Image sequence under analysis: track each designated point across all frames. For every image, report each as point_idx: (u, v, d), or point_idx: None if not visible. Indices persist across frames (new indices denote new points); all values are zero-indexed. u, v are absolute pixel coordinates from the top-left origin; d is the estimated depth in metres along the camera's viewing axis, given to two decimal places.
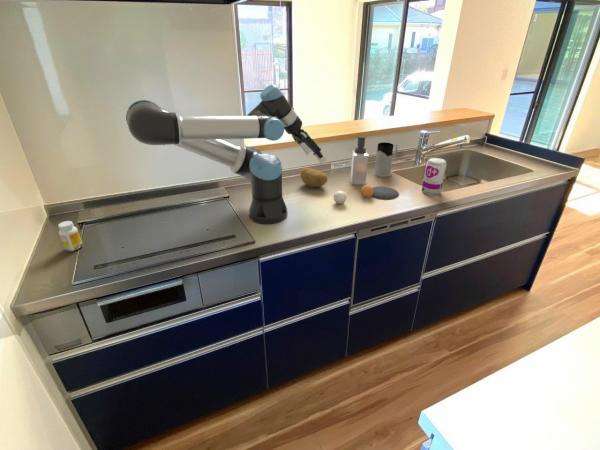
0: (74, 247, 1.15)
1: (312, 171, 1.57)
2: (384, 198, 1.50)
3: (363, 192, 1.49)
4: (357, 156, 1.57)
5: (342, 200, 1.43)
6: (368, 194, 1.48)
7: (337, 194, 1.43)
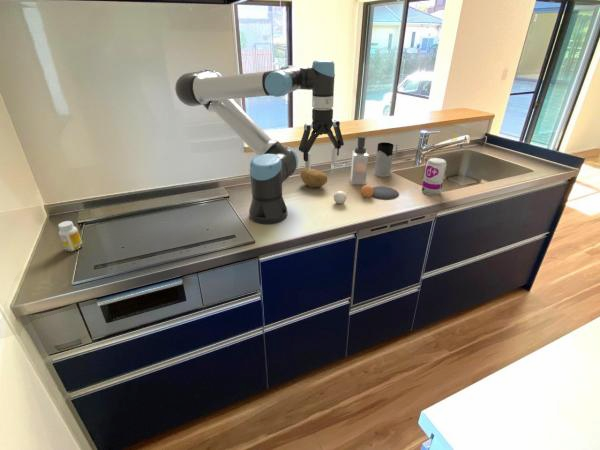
0: (74, 247, 1.15)
1: (312, 171, 1.57)
2: (384, 198, 1.50)
3: (363, 192, 1.49)
4: (357, 156, 1.57)
5: (342, 200, 1.43)
6: (368, 194, 1.48)
7: (337, 194, 1.43)
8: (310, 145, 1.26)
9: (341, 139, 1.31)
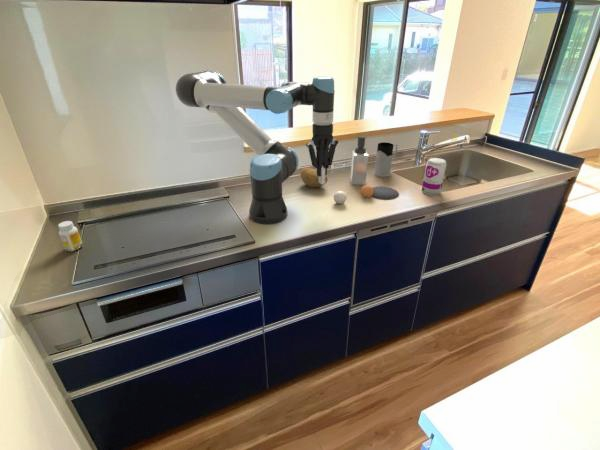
0: (74, 247, 1.15)
1: (312, 171, 1.57)
2: (384, 198, 1.50)
3: (363, 192, 1.49)
4: (357, 156, 1.57)
5: (342, 200, 1.43)
6: (368, 194, 1.48)
7: (337, 194, 1.43)
8: (320, 161, 1.31)
9: (331, 158, 1.33)
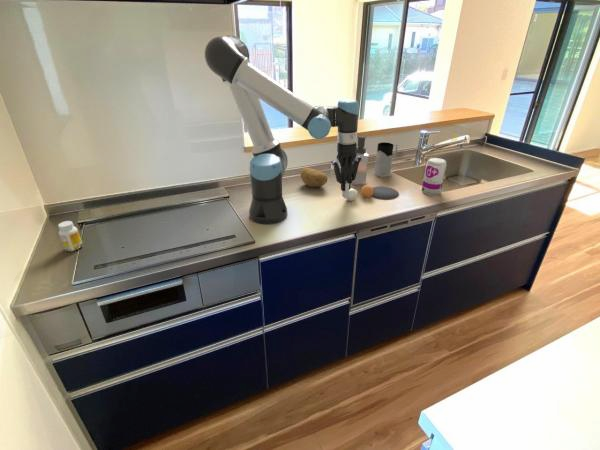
0: (74, 247, 1.15)
1: (312, 171, 1.57)
2: (384, 198, 1.50)
3: (363, 192, 1.49)
4: None
5: (354, 196, 1.45)
6: (368, 194, 1.48)
7: None
8: (344, 177, 1.39)
9: (355, 174, 1.41)
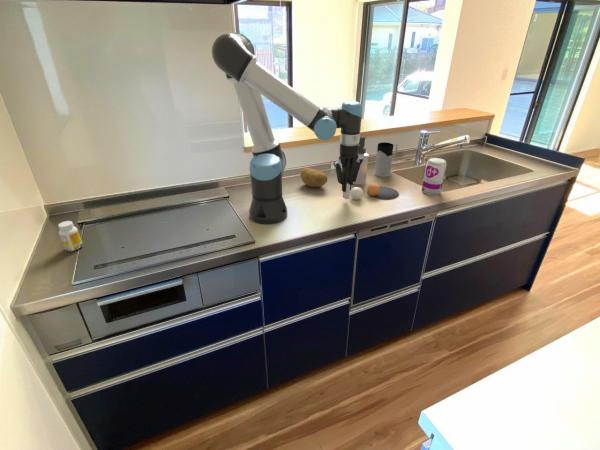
0: (74, 247, 1.15)
1: (312, 171, 1.57)
2: (384, 198, 1.50)
3: (373, 185, 1.50)
4: None
5: (360, 194, 1.46)
6: (375, 189, 1.49)
7: None
8: (346, 178, 1.40)
9: (356, 175, 1.42)
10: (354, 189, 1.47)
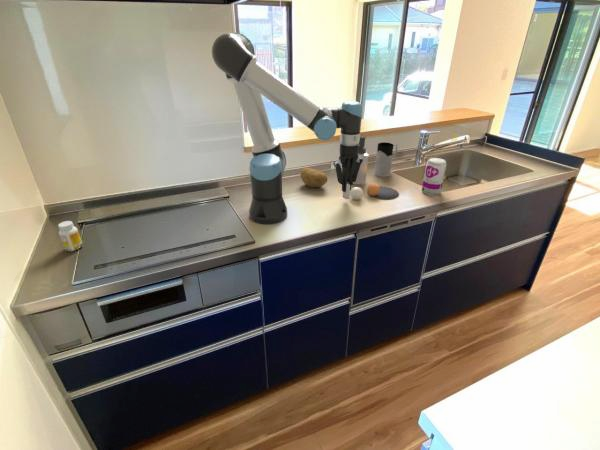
0: (74, 247, 1.15)
1: (312, 171, 1.57)
2: (384, 198, 1.50)
3: (373, 185, 1.50)
4: None
5: (360, 194, 1.46)
6: (375, 189, 1.49)
7: None
8: (346, 178, 1.40)
9: (356, 175, 1.42)
10: (354, 189, 1.47)
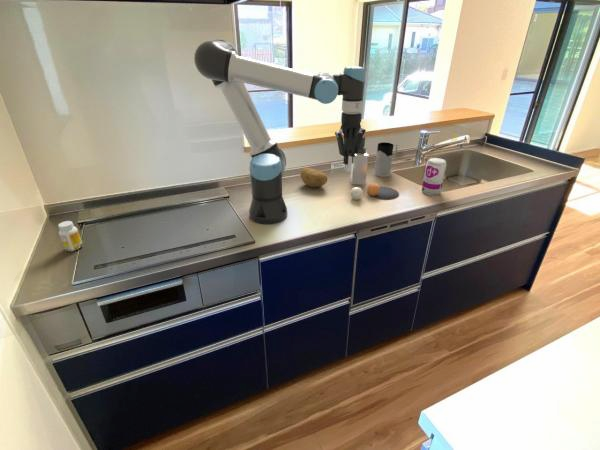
0: (74, 247, 1.15)
1: (312, 171, 1.57)
2: (384, 198, 1.50)
3: (373, 185, 1.50)
4: (357, 156, 1.57)
5: (360, 194, 1.46)
6: (375, 189, 1.49)
7: None
8: (348, 149, 1.34)
9: (358, 147, 1.36)
10: (354, 189, 1.47)
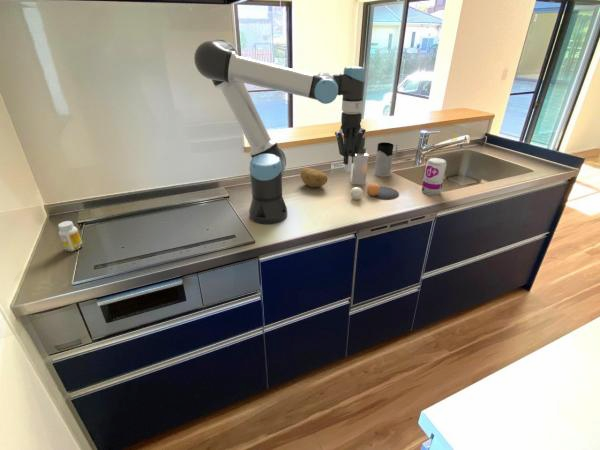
0: (74, 247, 1.15)
1: (312, 171, 1.57)
2: (384, 198, 1.50)
3: (373, 185, 1.50)
4: (357, 156, 1.57)
5: (360, 194, 1.46)
6: (375, 189, 1.49)
7: None
8: (348, 149, 1.34)
9: (358, 147, 1.36)
10: (354, 189, 1.47)
